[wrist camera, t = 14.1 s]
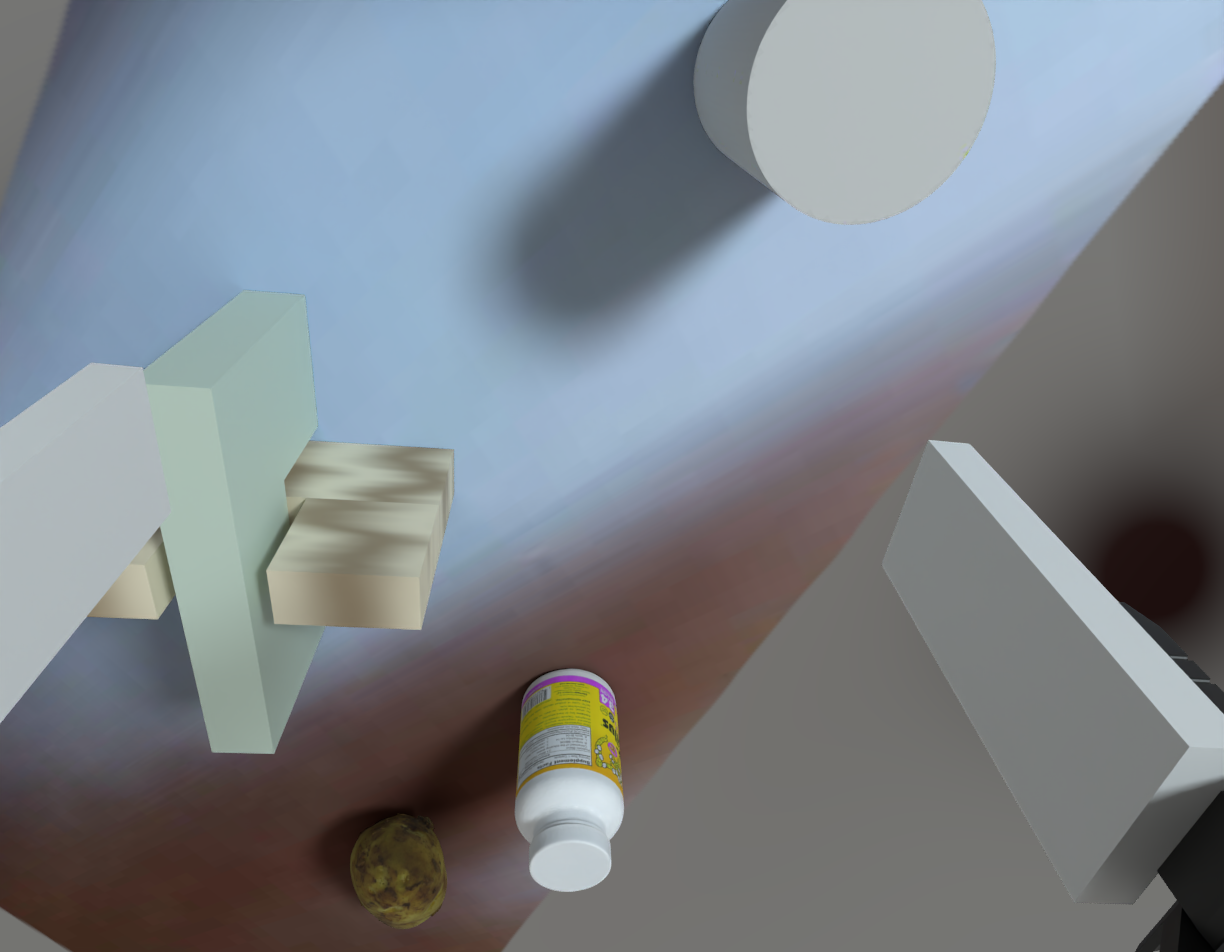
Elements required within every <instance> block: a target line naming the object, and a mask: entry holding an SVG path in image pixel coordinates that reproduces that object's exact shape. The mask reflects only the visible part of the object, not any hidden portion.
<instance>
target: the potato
mask: <svg viewBox="0 0 1224 952" xmlns="http://www.w3.org/2000/svg"><path fill="white" fill-rule="evenodd" d="M433 826H434V824H433V823H432V821H431V820H430V819H429V817H423V816H418V818H414V817H413V816H410V815H406V814H399V813H398V814H397V815H396V816H393V817H389V818H386V819H383V820H381V821H379V822H378V823H376V824H375V825H373V826H371V827H369V828H366V829H365V830H364V831H363V832H361V833H360V835H359V838H358V840H357V842H356V844H355V846H354V848H353V851H352V854H351V858H350V872H351V878H352V883H353V886H354V889H355V891H356V893H357V896H358V898H359V900H360V903H361V906H362V905H363V906H364V907H365V908H366V909H367V910H368V911H369V912H370V913H371V914H372V915H374V916H375V917H376V918H377V919H379V921H381V922H383V923H384V924H386V925H388V926H390V927H393V928H397V929H408V928H412V927H415V926H417V925H419V924H421V923H422V922H424V921H425V920H427V919H428V918H429V917H430V916H434V914H435V913H436V912H437V911H438V910H439V909H440V908H441V906H442V902H443V900H444V897H445V893H446V887H447V874H446V869H445V865H444V858H443V853H442V849H441V846H440V843H439V841H438V839H437V837H436V835H435V833H434V832H433V829H435V828H433Z"/></svg>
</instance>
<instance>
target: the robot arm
mask: <svg viewBox="0 0 1224 952" xmlns="http://www.w3.org/2000/svg"><path fill="white" fill-rule="evenodd" d="M170 513H171V508H170V503H169V498H168V493H167V488H166V483H165V478H164V473H163V468H162V463H161V458H160V453H159V448H158V443H157V438H156V433H155V428H154V423H153V417H152V412H151V407H150V402H149V397H148V392H147V387H146V382H145V377H144V372H143V367H132V366H121V365H110V364H100V363H90V364H89V365H87V366H86V367H85V368H83V369H82V370H80V371H79V372H78V373H76V374H75V375H73V376H72V377H71V378H69V379H68V380H66V381H65V382H64V383H62V384H61V385H59V386H58V387H57V388H55V389H54V390H53V391H51V392H50V393H48V394H47V395H46V396H44V397H43V398H41V399H40V400H39V401H37V402H36V403H34V404H33V405H32V406H30V407H29V408H27V409H26V410H25V411H23V412H22V413H20V414H19V415H18V416H16V417H15V418H13V419H12V420H11V421H9V422H8V423H6V424H5V425H4V426H2V427H1V428H0V723H1V722H2V720H3V719H4V718H5V717H6V716H7V714H8V713H9V712H10V711H11V709H12V708H13V707H14V706H15V704H16V703H17V702H18V701H19V699H20V698H21V697H22V696H23V695H24V693H25V692H26V691H27V690H28V688H29V687H30V686H31V685H32V683H33V682H34V681H35V680H36V679H37V677H38V676H39V675H40V674H41V672H42V671H43V670H44V669H45V667H46V666H47V665H48V664H49V662H50V661H51V660H52V659H53V658H54V656H55V655H56V654H57V653H58V651H59V650H60V649H61V648H62V646H63V645H64V644H65V643H66V642H67V640H68V639H69V638H70V637H71V635H72V634H73V633H74V632H75V630H76V629H77V628H78V627H79V625H80V624H81V623H82V622H83V621H84V619H85V618H86V617H87V616H88V614H89V613H90V612H91V611H92V609H93V608H94V607H95V606H96V604H97V603H98V602H99V601H100V600H101V598H102V597H103V596H104V595H105V593H106V592H107V591H108V590H109V588H110V587H111V586H112V585H113V584H114V582H115V581H116V580H117V579H118V577H119V576H120V575H121V574H122V572H123V571H124V570H125V569H126V567H127V566H128V565H129V564H130V563H131V561H132V560H133V559H134V558H135V556H136V555H137V554H138V553H139V551H140V550H141V549H142V548H143V547H144V545H145V544H146V543H147V542H148V540H149V539H150V538H151V537H152V535H153V534H154V533H155V532H156V530H157V529H158V528H159V527H160V526H161V524H162V523H163V522H164V521H165V519H166V518H167V517H168V516H169V514H170ZM882 567H883V569H884V570H885V572H886V574H887V576H888V577H889V579H890V581H891V583H892V584H893V586H894V588H895V590H896V591H897V593H898V595H899V596H900V598H901V600H902V602H903V604H904V605H905V607H906V609H907V611H908V612H909V614H910V616H911V618H912V619H913V621H914V623H915V625H916V626H917V628H918V630H919V632H920V633H921V635H922V637H923V639H924V641H925V642H926V644H927V646H928V647H929V649H930V651H931V653H932V654H933V656H934V658H935V660H936V662H937V663H938V665H939V667H940V669H941V670H942V672H943V674H944V675H945V677H946V679H947V681H948V683H949V684H950V686H951V688H952V690H953V691H954V693H955V695H956V696H957V698H958V700H959V702H960V704H961V705H962V707H963V709H964V711H965V712H966V714H967V716H968V718H969V719H970V721H971V723H972V725H973V726H974V728H975V730H976V732H977V733H978V735H979V737H980V739H981V740H982V742H983V744H984V746H985V747H986V749H987V751H988V753H989V754H990V756H991V758H992V760H993V761H994V763H995V765H996V767H997V769H998V770H999V772H1000V774H1001V776H1002V777H1003V779H1004V781H1005V783H1006V784H1007V786H1008V788H1009V790H1010V791H1011V793H1012V795H1013V797H1014V798H1015V800H1016V802H1017V804H1018V805H1019V807H1020V809H1021V810H1022V812H1023V814H1024V816H1025V818H1026V819H1027V821H1028V823H1029V825H1030V826H1031V828H1032V830H1033V832H1034V833H1035V835H1036V837H1037V839H1038V840H1039V842H1040V844H1041V846H1042V847H1043V849H1044V851H1045V853H1046V854H1047V856H1048V858H1049V860H1050V861H1051V863H1052V865H1053V867H1054V869H1055V870H1056V872H1057V874H1058V875H1059V877H1060V879H1061V881H1062V882H1063V884H1064V886H1065V888H1066V889H1067V891H1068V893H1069V895H1070V897H1071V898H1072V900H1073V902H1074V903H1097V904H1134V903H1135V901H1136V900H1137V899H1138V898H1139V896H1140V895H1141V894H1142V893H1143V891H1144V890H1145V888H1147V886H1148V885H1149V884H1150V883H1151V882H1152V880H1153V879H1154V878H1155V877H1156V875H1157V874H1158V873H1159V874H1160V876H1161V877H1162V879H1163V880H1164V882H1165V883H1166V885H1167V886H1168V888H1169V889H1170V890H1171V892H1172V893H1173V895H1174V896H1175V898H1176V899H1177V901H1176V902H1175V903H1174V904H1173V906H1172V907H1171V908H1170V909H1169V910H1168V911H1167V913H1166V914H1165V915H1164V916H1163V917H1162V919H1161V920H1160V921H1159V922H1158V923H1157V924H1156V925H1155V927H1154V928H1153V929H1152V930H1151V931H1150V932H1149V934H1148V935H1147V936H1146V937H1145V938H1144V940H1143V941H1142V942H1141V943H1140V944H1139V946H1138V948H1137V949H1136V951H1135V952H1153V951H1158V950H1160V952H1224V692H1223V691H1222V690H1221V689H1220V688H1219V687H1218V686H1217V685H1216V684H1210V681H1209V680H1210V678H1209V677H1208V676H1207V675H1206V674H1205V673H1204V672H1203V671H1202V670H1201V669H1200V668H1199V666H1197V664H1195V662H1194V661H1188V659H1187V656H1188V655H1187V654H1186V653H1185V652H1184V651H1183V650H1182V649H1181V648H1180V647H1179V646H1178V645H1177V644H1176V643H1175V642H1174V641H1173V640H1172V639H1171V638H1170V637H1169V636H1168V635H1167V634H1166V633H1165V631H1164V630H1163V629H1162V628H1160V627H1159V626H1158V625H1156V624H1155V623H1153V622H1152V621H1150V620H1149V619H1147V618H1146V617H1145V616H1143V615H1142V614H1140V613H1139V612H1137V611H1136V610H1134V609H1133V608H1132V607H1130V606H1129V605H1127V604H1126V603H1124V602H1118V601H1117V600H1116V599H1115V598H1114V597H1113V596H1112V595H1111V594H1110V593H1109V592H1108V591H1107V590H1106V589H1105V588H1104V586H1102V584H1101V583H1100V582H1099V581H1098V580H1097V579H1096V578H1095V577H1094V576H1093V575H1092V574H1091V573H1090V572H1089V570H1088V569H1087V568H1086V567H1085V566H1084V565H1083V564H1082V563H1081V562H1080V561H1079V560H1078V559H1077V558H1076V557H1075V556H1074V555H1073V553H1072V552H1071V551H1070V550H1069V549H1068V548H1067V547H1066V546H1065V545H1064V544H1063V543H1062V542H1061V541H1060V540H1059V539H1058V538H1057V536H1056V535H1055V534H1054V533H1053V532H1052V531H1051V530H1050V529H1049V528H1048V527H1047V526H1046V525H1045V524H1044V523H1043V522H1042V520H1040V518H1039V517H1038V516H1037V515H1036V514H1035V513H1034V512H1033V511H1032V510H1031V509H1030V508H1029V507H1028V506H1027V505H1026V503H1025V502H1024V501H1023V500H1022V499H1021V498H1020V497H1019V496H1018V495H1017V494H1016V493H1015V492H1014V491H1013V490H1012V489H1011V488H1010V486H1009V485H1008V484H1006V482H1005V481H1004V480H1003V479H1002V478H1001V477H1000V476H999V475H998V474H997V473H996V472H995V471H994V469H993V468H992V467H991V466H990V465H989V464H988V463H987V462H986V461H985V460H984V459H983V458H982V457H981V456H980V455H979V454H978V452H976V450H975V449H974V448H973V447H972V446H971V445H970V444H966V443H955V442H944V441H934V440H928V442H927V445H926V448H925V450H924V453H923V456H922V459H921V461H920V464H919V466H918V469H917V472H916V474H915V477H914V480H913V482H912V485H911V488H910V490H909V493H908V495H907V498H906V501H905V503H904V506H903V509H902V511H901V514H900V517H899V519H898V522H897V525H896V527H895V530H894V533H893V535H892V538H891V541H890V543H889V546H888V549H887V551H886V554H885V557H884V559H883V562H882Z"/></svg>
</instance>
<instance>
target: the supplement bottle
mask: <svg viewBox="0 0 1224 952" xmlns="http://www.w3.org/2000/svg"><path fill="white" fill-rule="evenodd" d="M619 747H620V746H619V734H618V722H617V710H616V702H615V697H614V694H613V692H612V690H611V688H610V687H609V685H608V684H607V683H606V682H605V681H604V680H603V679H601V678H600V677H599V676H597V675H595V674H593V673H591V672H588V671H584V670H580V669H562V670H556V671H553V672H549V673H547V674H545V675H543V676H541V677H539V678H538V679H536V680H535V681H534V682H533V683H532V684H531V685H530V686H529V688H528V689H527V691H526V692H525V694H524V697H523V701H522V709H521V725H520V742H519V757H518V773H517V789H516V803H515V819H516V823H517V826H518V829H519V830H520V832H521V834H522V835H523V837H524V838H525V839H526V840H527V841H528V842H529V843H531V844H530V847H529V870H530V874H531V876H532V877H533V879H534V880H535V881H536V882H537V883H539V884H540V885H542V886H543V887H546V888H548V889H551V890H556V891H563V892H572V891H578V890H583V889H587V888H590V887H592V886H594V885H596V884H598V883H600V882H601V881H602V880H603V879H604V878H605V877H606V876H607V875H608V873H609V871H610V868H611V845H610V842H609V840H610V839H611V838H612V837H613V836H614V835H615V833H616V832H617V830H618V829H619V827H620V825H621V822H622V819H623V814H624V803H623V788H622V777H621V763H620V750H619Z"/></svg>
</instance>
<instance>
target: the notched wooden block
mask: <svg viewBox="0 0 1224 952" xmlns="http://www.w3.org/2000/svg"><path fill="white" fill-rule="evenodd" d="M284 484H285V491H286V499H287V507H288V514H289V522H290V529H289V531H288V532H287V534H286V536H285V538H284V539H283V541H282V543H281V545H280V547H279V548H278V550H277V552H276V554H275V556H274V557H273V559H272V561H271V563H270V565H269V566H268V568H267V570H266V572H267V579H268V585H269V592H270V598H271V605H272V611H273V618H274V624H287V625H313V626H338V627H364V628H389V629H415V630H421V628H422V624H423V620H424V616H425V612H426V608H427V603H428V599H429V595H430V591H431V587H432V583H433V579H434V575H435V570H436V566H437V562H438V558H439V554H440V550H441V546H442V542H443V537H444V533H445V529H446V525H447V521H448V517H449V513H450V509H451V504H452V500H453V496H454V450H453V449H437V448H420V447H404V446H388V445H371V444H355V443H339V442H322V441H309V442H308V443H307V445H306V446H305V448H304V449H303V451H302V453H301V454H300V456H299V457H298V459H297V461H296V462H295V464H294V465H293V467H292V469H291V470H290V472H289V473H288V475H287V476H286V478H285V480H284ZM175 594H176V593H175V589H174V585H173V580H172V576H171V572H170V567H169V563H168V559H167V554H166V550H165V546H164V541H163V537H162V533H161V528H160V527H159V528H158V529H157V530H156V532H155V533H154V534H153V535H152V537H151V538H150V539H149V540H148V542H147V543H146V544H145V545H144V547H143V548H142V549H141V550H140V551H139V553H138V554H137V555H136V556H135V558H134V559H133V560H132V561H131V563H130V564H129V565H128V566H127V567H126V569H125V570H124V571H123V572H122V574H121V575H120V576H119V577H118V579H117V580H116V581H115V582H114V584H113V585H112V586H111V587H110V588H109V590H108V591H107V592H106V593H105V595H104V596H103V597H102V598H101V600H100V601H99V602H98V603H97V604H96V606H95V607H94V608H93V609H92V611H91V612H90V613H89V614H88V616H87V617H109V618H134V619H159V617H160V616H161V615H162V613H163V612H164V610H165V609H166V607H167V606H168V604H169V603H170V602H171V600H172V599H173V597H174V596H175Z"/></svg>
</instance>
